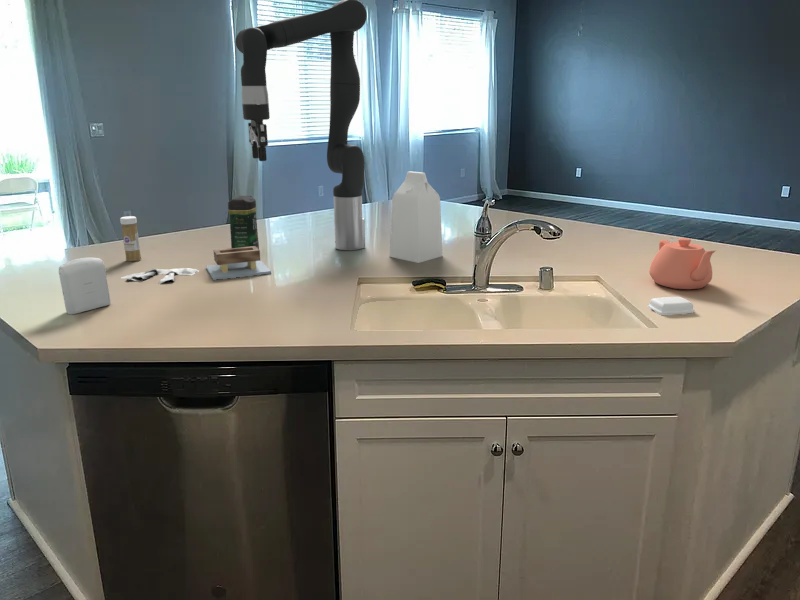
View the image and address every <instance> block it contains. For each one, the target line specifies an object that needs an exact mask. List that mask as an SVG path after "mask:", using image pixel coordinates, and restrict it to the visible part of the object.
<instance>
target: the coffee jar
mask: <svg viewBox="0 0 800 600" xmlns="http://www.w3.org/2000/svg"><path fill="white" fill-rule="evenodd" d="M227 211H228V217H229V226H230V230H229V231H230V244H231V247H230V248H240V247H250V246H256V247H257V248H258V249H259V250H260V244H259V242H260V241H259V233H258V223H257V222H258V221H257V202H256V198H255V197H253V196H251V195H238V197H237V196H236V197H235V198H232V199H231V200H229V201H228V202H227Z"/></svg>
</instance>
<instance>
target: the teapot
mask: <svg viewBox="0 0 800 600" xmlns="http://www.w3.org/2000/svg"><path fill="white" fill-rule="evenodd" d="M715 252H716V250H707V251H706V250H705V248H704V247H703V246H702V245H700V244H696V243H692V239H691V238H688V237H680V238H678V240H677V241H674V242H673V241H672V242H671V241H669V240H667V239H661V240H659V243H658V251H657V252H656V253H655V255H654V257H653V259H652V261H651V263H650V265H649V270H648V271H649V275H650V278H651V279H652V281H654V283H655V284H657V285H660V286H662V287H666V288H671V289H675V290H698V289H702V288H704V287H706V286H707V285H708V284H709V283H710V282H711V281H712V279H713V267H712V263H711V258H712V256H713V254H714V253H715Z"/></svg>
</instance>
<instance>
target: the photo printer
mask: <svg viewBox="0 0 800 600" xmlns="http://www.w3.org/2000/svg"><path fill="white" fill-rule="evenodd" d="M105 267H106V266H105V264H104V260H102V258H98V257H92V256H91V257H80V258H75V259H72V260H69V261H67V262H65V263H63V264H62V265H60V266H59V267H58V275H59V282H60V286H61V291H62V292H61V293H62V296H63V301H64V306H65V311H66V314H67V313H68V314H67V315H76V314H80V313H82V312H83V313H84V312H86V311H87V312H88V311H90V310H91V311H92V310H94V309H97V308H102V307H106V306H110V305H111V297H110V290H109V284H108V279H107V271H106V268H105Z"/></svg>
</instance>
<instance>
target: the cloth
mask: <svg viewBox="0 0 800 600" xmlns="http://www.w3.org/2000/svg"><path fill="white" fill-rule="evenodd" d="M199 271H200V270H198V269H196V268H191V267H190V268H189V267H187V268H186V267H180V268H170V269H162V268H159V269H158V268H152V269H150V270H147V271H142V272H138V273H131V274H128V275H124V276H122V277H120V279H126V280H125V281H124V282H126V281H127V282H130V281H134V282H143V281H145V280H148V279H150V278H151V277H155V276H156V275H162V276H163V275H164V276H163V278H161V279H160V280H159V281H158V285H161V284H163V283H164V284H169V283H172V284H173V283H175V282H176V281H175V278H176V277H175V276H176V274H177V275H178V276H188V275H191V276H193V275H194V276H195V275H197V273H200V272H199ZM195 272H196V273H195Z"/></svg>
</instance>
